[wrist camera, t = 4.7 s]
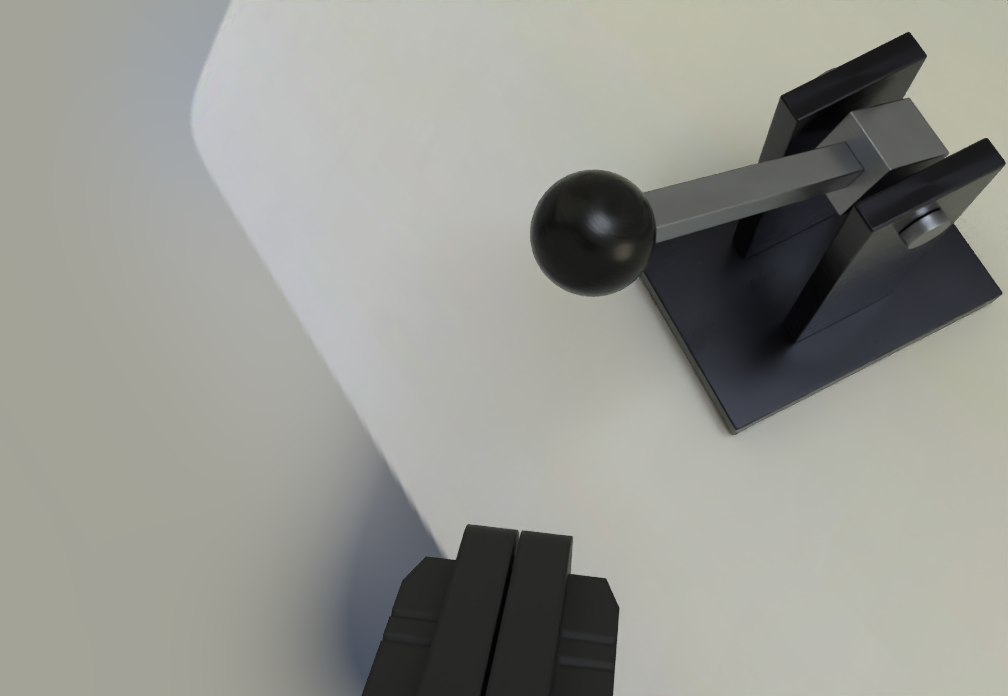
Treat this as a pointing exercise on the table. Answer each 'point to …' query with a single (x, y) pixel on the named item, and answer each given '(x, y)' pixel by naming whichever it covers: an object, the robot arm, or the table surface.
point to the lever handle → (718, 197)
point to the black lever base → (825, 260)
